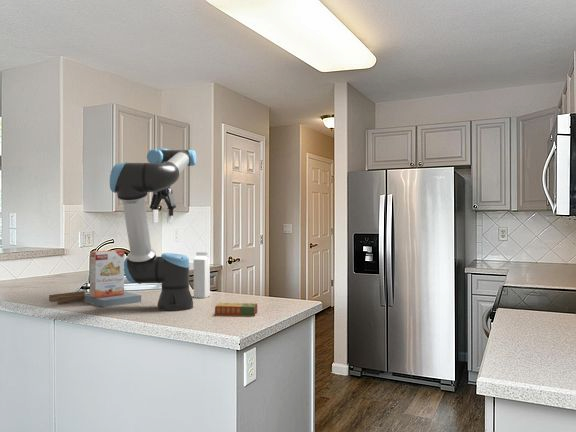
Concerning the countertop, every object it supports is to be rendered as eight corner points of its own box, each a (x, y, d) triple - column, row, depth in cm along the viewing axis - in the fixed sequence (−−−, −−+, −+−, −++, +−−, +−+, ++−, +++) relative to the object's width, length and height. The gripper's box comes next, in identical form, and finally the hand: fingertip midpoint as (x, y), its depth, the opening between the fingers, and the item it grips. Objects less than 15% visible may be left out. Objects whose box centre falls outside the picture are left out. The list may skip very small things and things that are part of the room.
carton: (219, 312, 194) (219, 302, 194) (257, 312, 193) (257, 302, 193) (214, 316, 186) (214, 305, 186) (254, 317, 185) (254, 306, 185)
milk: (198, 296, 233) (198, 251, 234) (210, 296, 232) (209, 252, 232) (193, 297, 227) (193, 252, 228) (204, 298, 226) (204, 252, 226)
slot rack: (93, 299, 222) (93, 293, 222) (58, 304, 211) (58, 297, 211) (83, 297, 230) (83, 291, 230) (49, 301, 219) (49, 294, 219)
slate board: (141, 301, 217) (141, 295, 217) (103, 307, 204) (103, 300, 204) (120, 296, 231) (120, 290, 231) (84, 301, 218) (84, 295, 218)
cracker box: (95, 298, 208) (95, 251, 208) (89, 297, 212) (89, 251, 212) (124, 294, 218) (124, 250, 219) (118, 293, 223) (118, 249, 223)
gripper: (183, 178, 226) (183, 222, 226) (156, 181, 244) (156, 222, 244) (169, 177, 221) (169, 222, 221) (143, 180, 238) (143, 222, 238)
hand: (162, 222), depth 232 cm, fingers open, 13 cm apart
